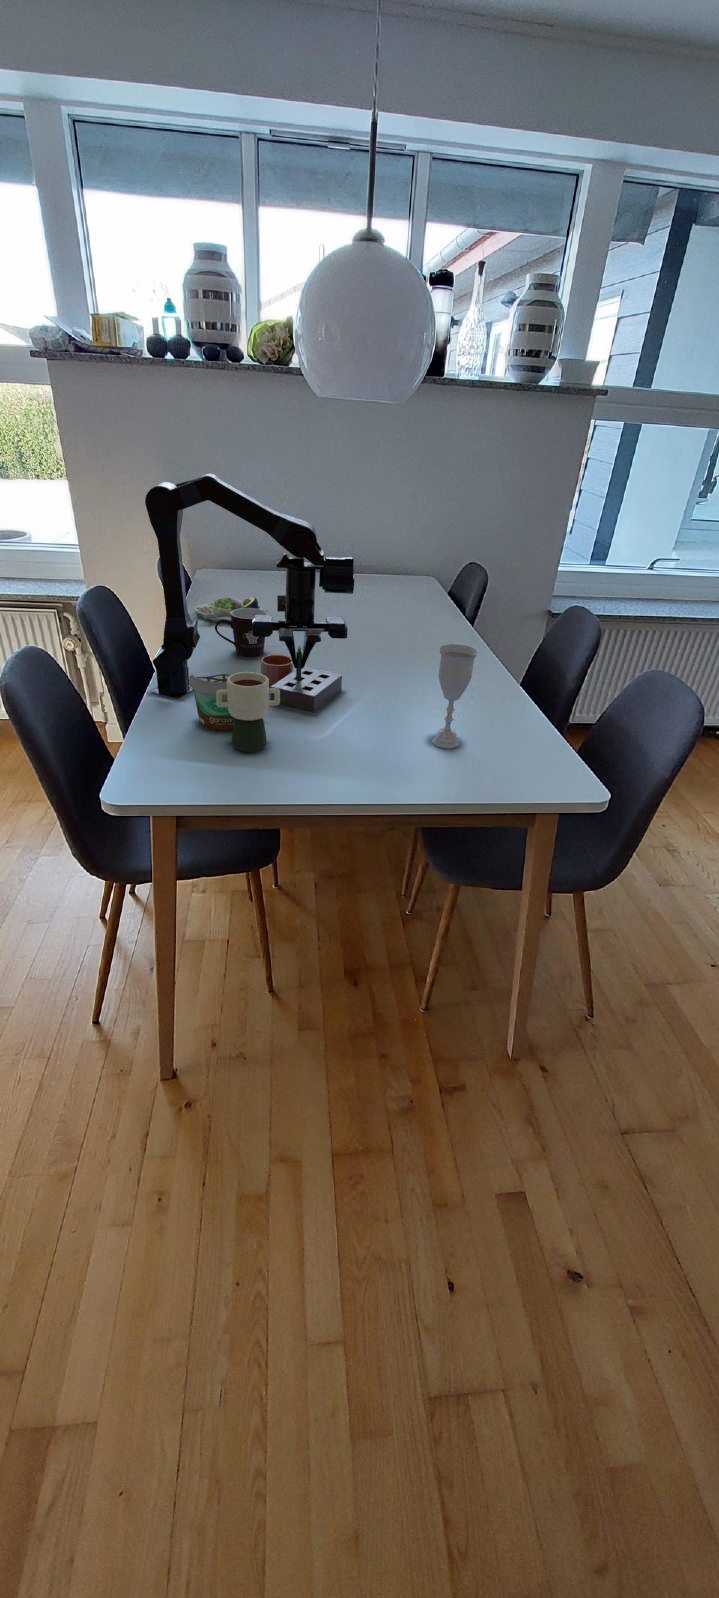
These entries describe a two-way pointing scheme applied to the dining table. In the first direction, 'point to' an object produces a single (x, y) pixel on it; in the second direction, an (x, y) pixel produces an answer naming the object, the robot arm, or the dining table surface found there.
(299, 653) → the pencil
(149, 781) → the dining table surface
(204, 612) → the salad plate
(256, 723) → the character mug
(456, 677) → the chalice
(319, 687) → the pen block
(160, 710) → the dining table surface
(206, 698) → the food container
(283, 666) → the cup
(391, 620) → the dining table surface
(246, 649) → the coffee mug
